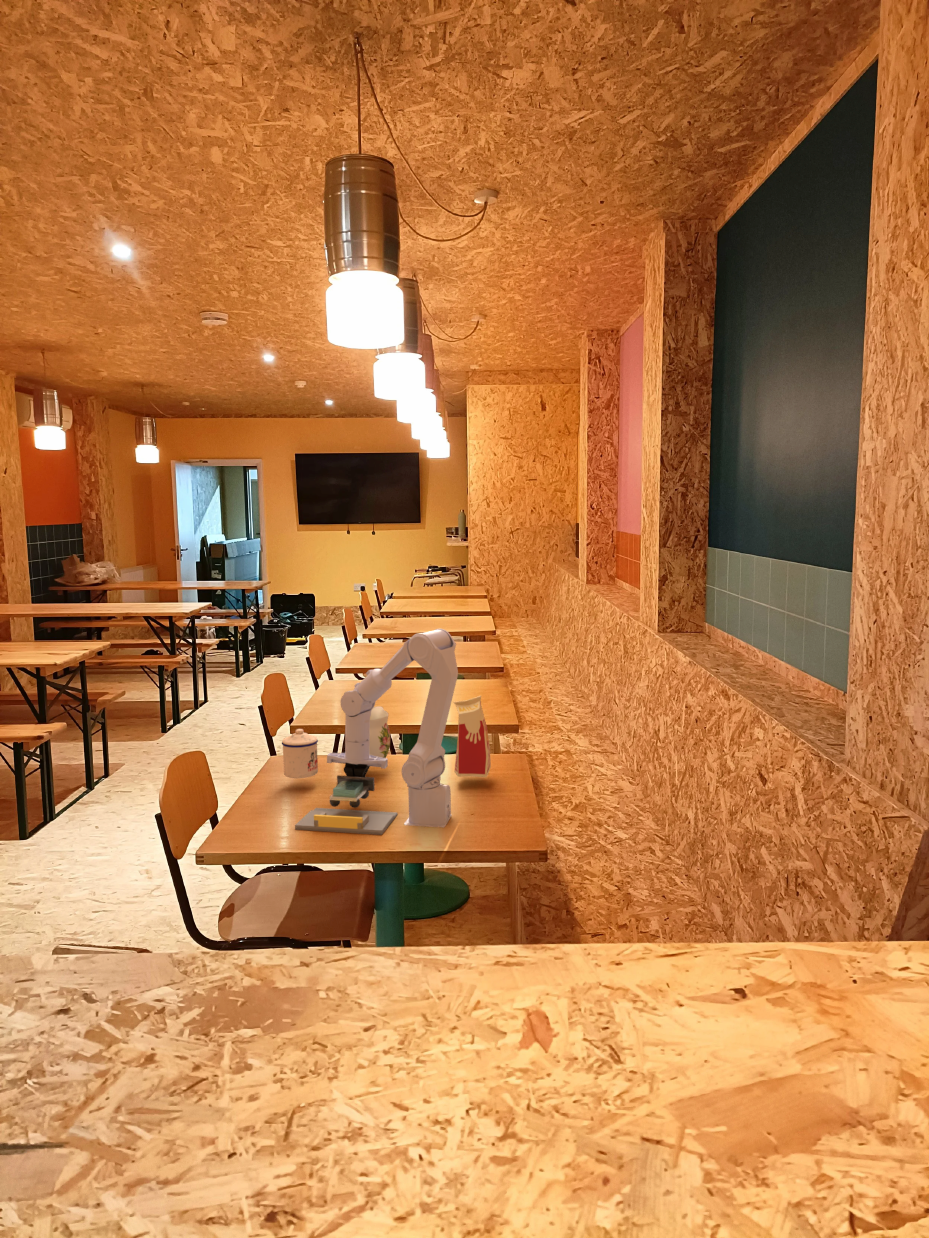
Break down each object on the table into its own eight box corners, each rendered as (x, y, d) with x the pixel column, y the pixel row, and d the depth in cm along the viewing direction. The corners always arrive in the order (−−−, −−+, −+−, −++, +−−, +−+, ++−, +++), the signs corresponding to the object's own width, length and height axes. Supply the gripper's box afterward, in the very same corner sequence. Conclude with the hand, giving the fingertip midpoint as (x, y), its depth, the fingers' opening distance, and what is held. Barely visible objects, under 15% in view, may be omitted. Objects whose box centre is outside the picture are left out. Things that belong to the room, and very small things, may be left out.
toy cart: (374, 796, 188) (374, 776, 187) (362, 809, 179) (361, 789, 178) (338, 794, 190) (338, 774, 189) (324, 807, 181) (323, 787, 180)
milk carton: (490, 766, 210) (490, 692, 208) (488, 777, 201) (487, 699, 199) (456, 766, 211) (455, 691, 209) (452, 777, 202) (451, 699, 199)
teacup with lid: (315, 779, 202) (313, 733, 200) (279, 779, 202) (277, 734, 200) (323, 764, 214) (322, 722, 212) (289, 765, 214) (288, 722, 212)
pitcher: (336, 772, 207) (335, 720, 205) (362, 753, 224) (361, 705, 222) (376, 775, 204) (375, 722, 202) (399, 755, 221) (398, 707, 220)
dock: (397, 814, 185) (397, 800, 185) (381, 834, 173) (381, 819, 173) (316, 809, 189) (315, 795, 189) (295, 829, 177) (294, 814, 177)
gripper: (391, 736, 192) (390, 790, 194) (334, 731, 194) (334, 784, 196) (382, 745, 185) (382, 801, 187) (323, 739, 188) (323, 795, 190)
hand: (356, 793), depth 191 cm, fingers closed, pressing on toy cart
